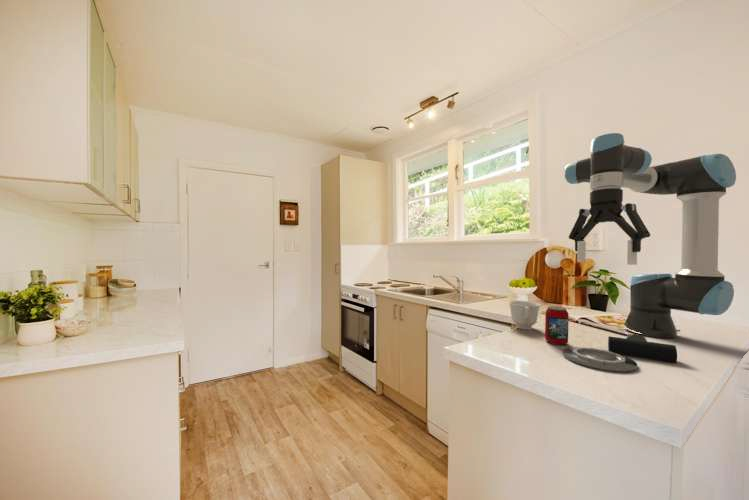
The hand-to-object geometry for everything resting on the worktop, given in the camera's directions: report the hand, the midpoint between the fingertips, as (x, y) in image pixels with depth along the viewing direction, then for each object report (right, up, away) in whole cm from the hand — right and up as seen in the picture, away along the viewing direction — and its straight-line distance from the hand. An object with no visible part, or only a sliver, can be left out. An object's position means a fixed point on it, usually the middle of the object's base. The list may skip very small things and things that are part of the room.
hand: (604, 263), depth 87 cm
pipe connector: (+15, -29, +6) cm, 33 cm away
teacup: (-6, -28, +34) cm, 45 cm away
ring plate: (-2, -28, 0) cm, 28 cm away
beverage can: (-4, -28, +16) cm, 33 cm away
